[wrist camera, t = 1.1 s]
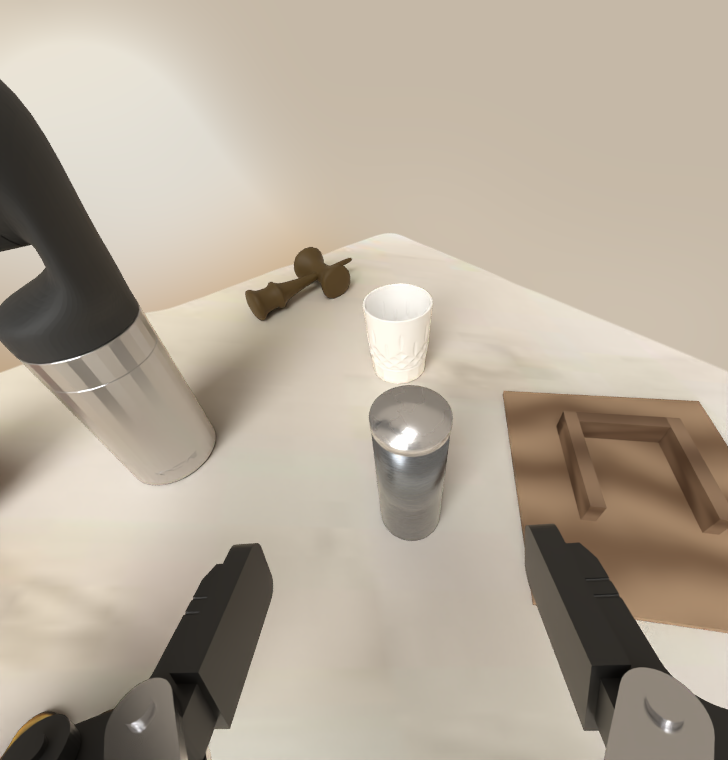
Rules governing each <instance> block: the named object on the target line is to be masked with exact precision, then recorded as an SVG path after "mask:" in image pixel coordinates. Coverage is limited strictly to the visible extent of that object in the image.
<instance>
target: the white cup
mask: <svg viewBox="0 0 728 760" xmlns="http://www.w3.org/2000/svg"><path fill="white" fill-rule="evenodd" d="M432 306H433V299H432V297H431V295H430V294H429V293H428V292H427V291H426V290H425V289H423V288H421V287H418V286H415V285H411V284H389V285H385V286H381V287H379V288H376V289H374V290H373V291H371V292H370V293H368V294H367V295H366V297H365V298H364V300H363V310H364V317H365V323H366V330H367V336H368V342H369V347H370V353H371V356H372V361H373V368H374V370H375V372H376V375H377V376H378V377H380V378H381V379H383V380H384V381H386V382H390V383H394V384H400V383H408V382H411V381H413V380H415V379H417V378H418V377H419V376H420V375H421V374H422V373H423V372H424V367H425V358H426V353H427V349H428V343H429V333H430V324H431V315H432Z"/></svg>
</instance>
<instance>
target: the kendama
mask: <svg viewBox="0 0 728 760" xmlns="http://www.w3.org/2000/svg"><path fill="white" fill-rule="evenodd" d="M351 260H352V259H351V258H348V259H345V260H342V261H340V262H338V263H336V264H333V265H331V266H328V265H326V264H325V263H324V260H323V257H322V254H321V252H320V251H319V250H318V249H317V248H313V247H309V248H305V249H304V250H302V251H301V252H299V254H298V255H297V256H296V258H295V262H294V271H295V273H296V275H297V277H298V279H295V280H292V281H288V282H284V283H273V282H270V283H268V286H267V287H266V288H264V289H261V290H258V291H252V290H247V291H246V293H245V295H246V300H247V303H248V305H249V307H250V309H251V310H252V312H253V314H254V315H255V316H256V317H257V318H258V319H260V320H265V319H266V317H267V314H268V313H269V312H270V311H272V310H273V309H275V308H278V307H280V308H284V307H285V306H286V303H287V301H288V300H289V299H290V298H291V297H292V296H294V295H295V294H296V293H298V292H299V291H301V290H302V289H303V288H305V287H306V286H308V285H309V284H311V283H313V282H314V281H316V280H317V281H319V282H320V283H321V286H322V289H323V292H324V294H325V295H326V296H327V297H328V298H336V297H338V296H340V295H342V294H344V293H345V291H346V290H347V289H348V287H349V284H350V274H349V271H348V270H347V268H346V267H345V266H343V265H345V264H347V263H349V262H350V261H351Z"/></svg>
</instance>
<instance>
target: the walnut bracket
mask: <svg viewBox="0 0 728 760" xmlns="http://www.w3.org/2000/svg"><path fill="white" fill-rule="evenodd" d="M503 399H504V406H505V413H506V420H507V427H508V434H509V441H510V448H511V455H512V462H513V469H514V476H515V483H516V490H517V497H518V503H519V510H520V517H521V524H522V531H523V538H524V545H525V527H526V525H537V524H552V523H553V524H555V525H556V526H557V528H558V530H559V531H560V533H561V535H562V537H563V539H564V541H565V543H578V542H580V543H581V544H582V545H583V546H584V547H585V548H587V549H588V550H589V551H590V552H591V553H592V554H593V555H595V556H596V557H597V558H598V560H599V561H600V563H601V565H602V566H603V568H604V570H605V571H606V573H607V575H608V576H609V579H610V581H612V583H613V584H614V586H615V588H616V589H617V591H618V593H619V596H620V597H621V598H622V599H623V601H624V602H625V604H626V606H627V607H628V609H629V611H630V612H631V614H632V616H633V617H634V619H635V620H642V621H649V622H656V623H662V624H669V625H676V626H683V627H690V628H697V629H703V630H710V631H717V632H724V633H728V446H727V444H726V443H725V441H724V440H723V438H722V437H721V435H720V433H719V432H718V430H717V429H716V427H715V426H714V424H713V422H712V421H711V419H710V418H709V416H708V415H707V413H706V412H705V410H704V408H703V407H702V405H701V404H700V402H699V401H683V400H664V399H645V398H626V397H607V396H588V395H569V394H550V393H531V392H512V391H504V392H503ZM531 594H532V591H531ZM532 601H533V605H536V602H535V599H534V597H533V594H532Z"/></svg>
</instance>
